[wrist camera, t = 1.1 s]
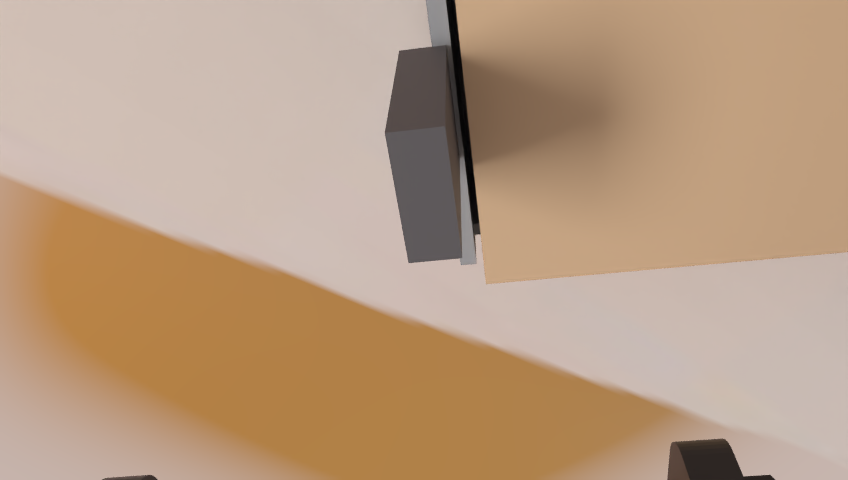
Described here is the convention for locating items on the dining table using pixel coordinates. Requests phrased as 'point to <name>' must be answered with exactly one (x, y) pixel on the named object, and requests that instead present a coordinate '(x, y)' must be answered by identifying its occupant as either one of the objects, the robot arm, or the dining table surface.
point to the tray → (433, 146)
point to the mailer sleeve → (655, 132)
